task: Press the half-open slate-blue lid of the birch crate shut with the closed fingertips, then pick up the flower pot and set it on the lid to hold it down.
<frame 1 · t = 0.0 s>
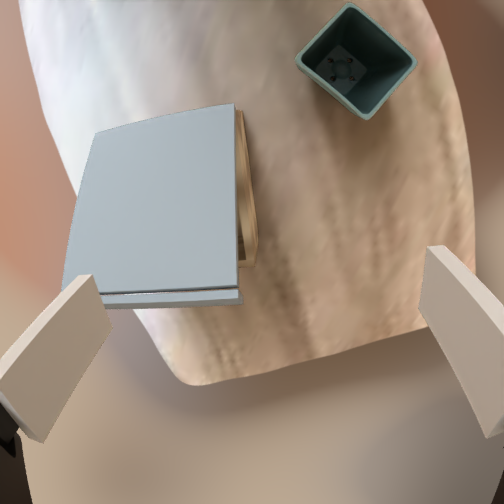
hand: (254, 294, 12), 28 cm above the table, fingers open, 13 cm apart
flower pot: (340, 70, 32), on the table
lid: (151, 200, 25), point 14 cm above the table, hinge at 45.0°
crate: (194, 183, 38), on the table
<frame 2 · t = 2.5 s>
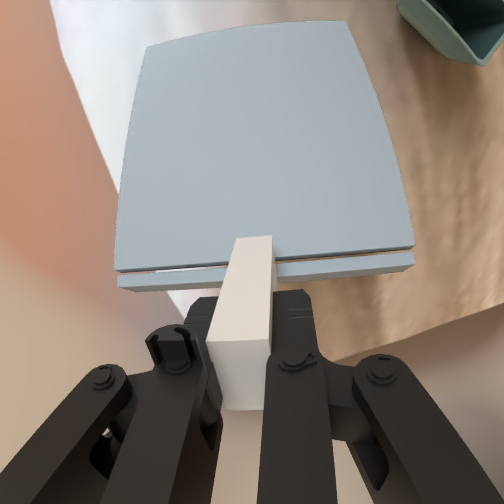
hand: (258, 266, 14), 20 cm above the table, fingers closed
flower pot: (427, 19, 22), on the table
lid: (252, 127, 17), point 13 cm above the table, hinge at 40.2°, touching gripper
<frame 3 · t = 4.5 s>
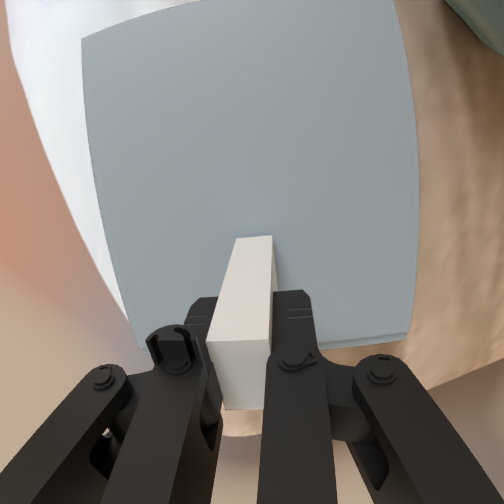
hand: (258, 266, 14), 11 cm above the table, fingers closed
flower pot: (472, 7, 14), on the table
lid: (253, 181, 14), point 9 cm above the table, hinge at 6.5°, touching gripper
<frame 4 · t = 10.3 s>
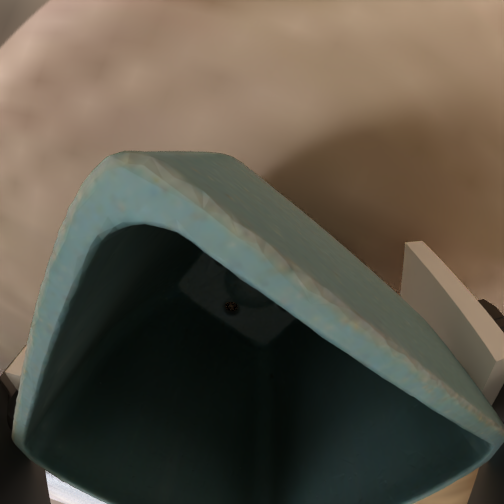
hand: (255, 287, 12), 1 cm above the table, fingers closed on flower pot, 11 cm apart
flower pot: (259, 275, 13), on the table, touching gripper
crate: (425, 459, 19), on the table
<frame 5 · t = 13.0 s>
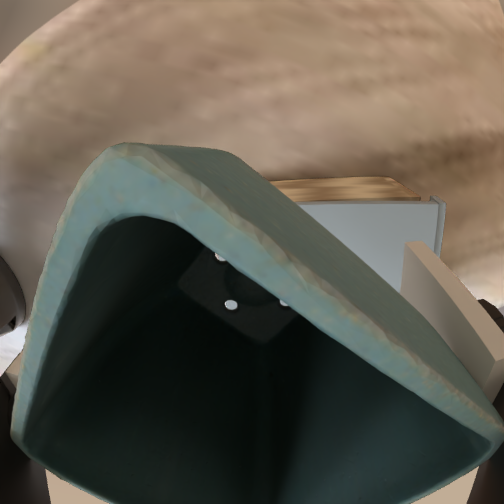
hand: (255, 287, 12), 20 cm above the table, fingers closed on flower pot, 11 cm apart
flower pot: (258, 273, 13), point 19 cm above the table, touching gripper
lid: (332, 287, 25), point 9 cm above the table, hinge at 6.5°
crate: (313, 244, 33), on the table
when the fingers open (11 cm above the table, at t = 15.9 s): flower pot stays where it is, resting on lid.
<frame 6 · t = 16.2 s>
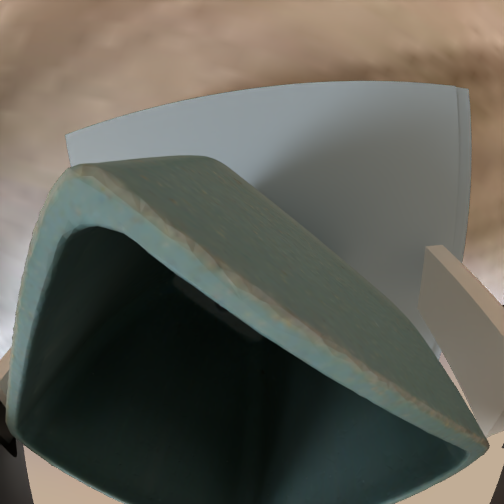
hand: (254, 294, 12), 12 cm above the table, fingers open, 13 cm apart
flower pot: (251, 272, 13), point 10 cm above the table, touching gripper, lid
lid: (272, 259, 14), point 9 cm above the table, hinge at 6.5°, touching flower pot
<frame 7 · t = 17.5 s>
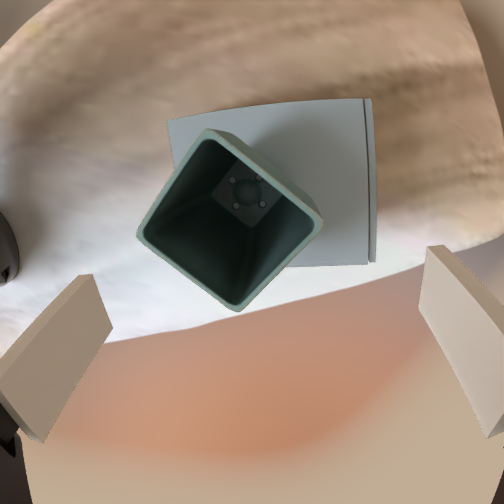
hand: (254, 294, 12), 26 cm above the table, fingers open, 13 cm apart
flower pot: (249, 190, 27), point 10 cm above the table, touching lid
lid: (276, 186, 27), point 9 cm above the table, hinge at 6.5°, touching flower pot
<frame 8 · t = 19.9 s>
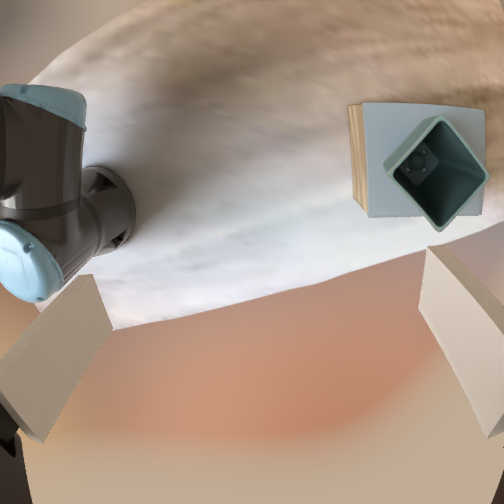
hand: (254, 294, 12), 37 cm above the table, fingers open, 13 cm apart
flower pot: (416, 160, 34), point 10 cm above the table, touching lid
lid: (428, 159, 35), point 9 cm above the table, hinge at 6.5°, touching flower pot
crate: (400, 151, 43), on the table
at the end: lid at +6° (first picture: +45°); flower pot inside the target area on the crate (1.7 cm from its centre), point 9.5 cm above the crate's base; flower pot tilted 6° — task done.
